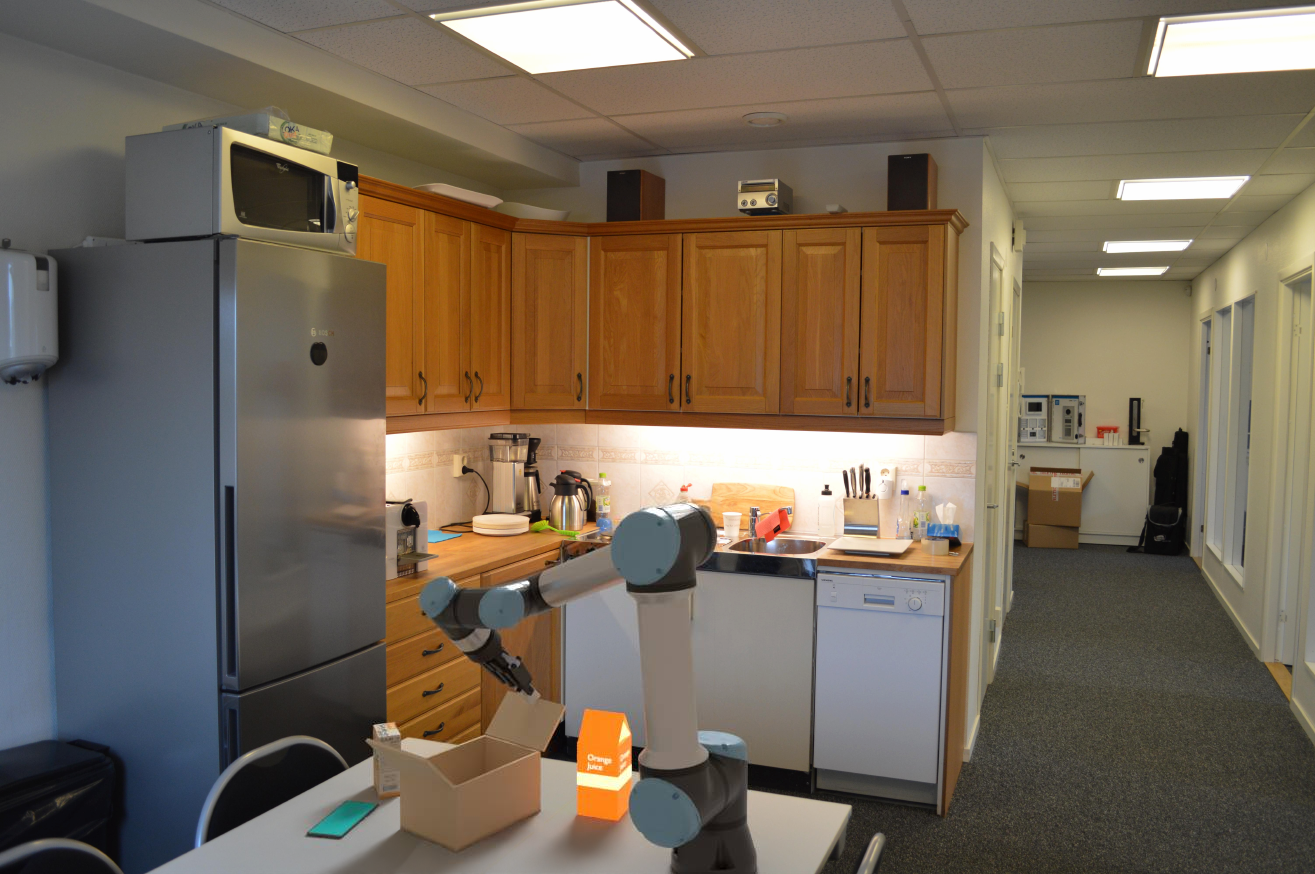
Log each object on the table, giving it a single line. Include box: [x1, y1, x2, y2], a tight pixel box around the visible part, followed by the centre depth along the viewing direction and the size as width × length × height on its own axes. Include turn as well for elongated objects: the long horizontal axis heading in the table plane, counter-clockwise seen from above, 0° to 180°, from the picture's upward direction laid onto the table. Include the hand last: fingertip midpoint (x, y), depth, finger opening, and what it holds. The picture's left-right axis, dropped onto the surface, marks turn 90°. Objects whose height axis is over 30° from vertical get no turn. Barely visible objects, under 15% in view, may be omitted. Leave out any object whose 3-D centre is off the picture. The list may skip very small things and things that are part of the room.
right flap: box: [484, 690, 567, 753], centre depth 194 cm, size 17×10×1 cm
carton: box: [399, 734, 542, 853], centre depth 182 cm, size 16×22×12 cm
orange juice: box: [576, 709, 633, 822], centre depth 187 cm, size 8×9×20 cm
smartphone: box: [306, 800, 380, 840], centre depth 182 cm, size 7×1×15 cm
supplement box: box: [372, 721, 402, 800], centre depth 196 cm, size 8×5×13 cm, turn 25°
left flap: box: [365, 738, 456, 790], centre depth 170 cm, size 17×10×1 cm
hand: (534, 699), depth 196 cm, fingers closed
